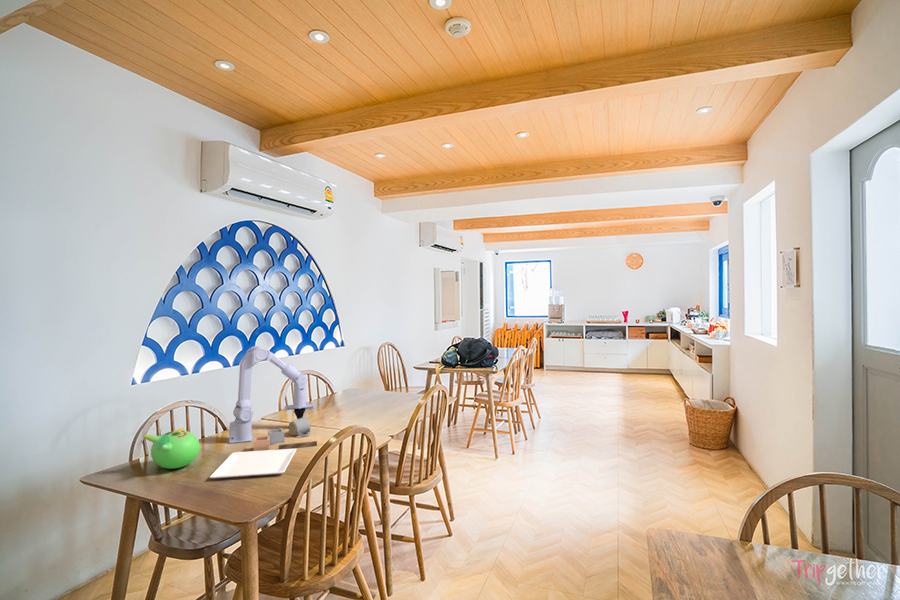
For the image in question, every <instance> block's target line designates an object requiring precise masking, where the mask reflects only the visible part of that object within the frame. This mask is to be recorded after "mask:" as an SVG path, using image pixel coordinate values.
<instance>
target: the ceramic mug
mask: <svg viewBox="0 0 900 600" xmlns="http://www.w3.org/2000/svg"><path fill="white" fill-rule="evenodd" d="M311 425H312V424H311V421H310V420H309V418H308V417H307V416H303V418H300V419H297V418H296V419H294V420H292V421H290V422H289V424H288V432H289V434H290V435H291V436H293V437H296V436H299V437H301V438H306V437H307V438H308V437H309V436H310V435H311V427H312V426H311Z"/></svg>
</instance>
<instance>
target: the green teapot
mask: <svg viewBox="0 0 900 600" xmlns="http://www.w3.org/2000/svg"><path fill="white" fill-rule="evenodd" d="M185 429H186V427H182V428H178V429H175V430H173V431H172V430H171V431H169V432H166V433H163V434H162V435H152V434H151V435H150V434H144V435H143V436H142V438H143V439H145V440H147V441H148V442H151V443H152V445H151V447H150V456H151V460H152V462H154V463H155V465H157V466H159V467H160V468H163V469H180V468H183V467H186V466H187V465H190V463H192V462H193V461H194V460H195V459H196V458H197V457H198V456H199V453H200V450H201V444H200V441H199V439H198V437H197V436H196V435H195V434H194V433H192V432H190V431H188V430H185Z"/></svg>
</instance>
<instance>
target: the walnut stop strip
mask: <svg viewBox="0 0 900 600" xmlns="http://www.w3.org/2000/svg"><path fill="white" fill-rule="evenodd" d="M307 447H308V448H309V447H318V440H315V441H304V442H293V443H287V444H286V443H283V444H278V450H281V449H300V448H307Z"/></svg>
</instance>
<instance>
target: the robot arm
mask: <svg viewBox="0 0 900 600" xmlns="http://www.w3.org/2000/svg"><path fill="white" fill-rule="evenodd" d="M263 361H267V362H268V361H269V362H270V363H271V364H273V365H275V366H276V367H278V368H279V370H280V371H281V374H283V375H284V377H286V378H288V379H289V380H290V381H291V383H293V404H290V405H284V411H287V410H288V411H291V410H294V411H293V413H294V414H295V415H294V416H296V420H297V419H300V418H303V417H304V414H305V411H306V410H308V409H310V410H311V409H312V410H313V409H316V407H315V406H316V404H315V403H307V402H306V398H307V396H306V395H307V394H306V393H307V392H306V391H307V389H306V384H307V382H308V380H309V379H308V378H307V376H306V375H305V374H303V373H302V372H301V370H300V369H299V370H298V369H297V368H296V367H295V365H294V364H291V363H285V362H284V361H282V360H281V359H280V358H279V357H278V356H276V354H274V353H273V352H272V351H270V350H268V349H266V348H265V347H261V346H257V345H254V346H251V347H250V348H249V349H248V350H246V353H245V355H244V356H243V357H242V359H241V360H240V362H239V373H238V374H239V375H238V376H239V377H238V378H239V379H238V391H237V393H238V394H237V400H236V403H235V406H234V409H233V412H232V413H233V415H234V418H235V419H234V421H230V422H229V427H228V428H229V430H228V434H229V435H228V436H229V437H228V439H229V442H228V443H229V444H233V443H234V444H235V443H245V442H252V440H253V439H254V434H253V432H252V431H253V430H252V424H253V423H252V420H253V419H252V418H253V417H254V416H253V415H254V413H253V412H254V411H253V410H252V404H251V390H252V389H251V387H252V385H251V384H252V367H254V366H255V365H256V364H258V363H260V362H263Z"/></svg>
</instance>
